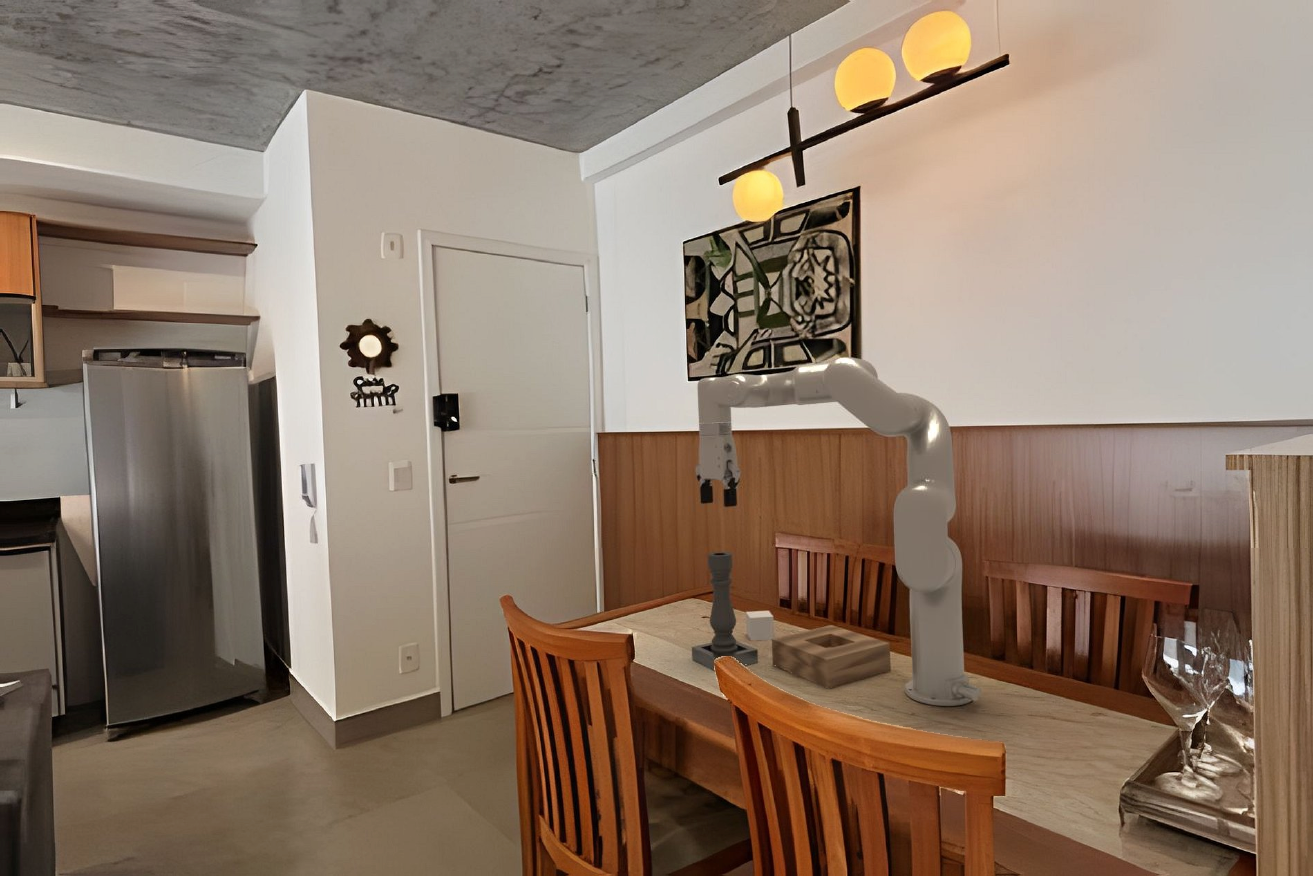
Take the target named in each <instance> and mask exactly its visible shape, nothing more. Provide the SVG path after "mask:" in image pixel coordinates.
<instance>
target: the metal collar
mask: <svg viewBox="0 0 1313 876" xmlns="http://www.w3.org/2000/svg"><path fill="white" fill-rule="evenodd" d="M712 645H713V644H712V642H709V643H708V642H707V643H703V644H699V645H695V646H691V659H693V660H692V661H694V660H696V661H697V662H696V661H695V662H696V663H698V664H700V663H701V665H702V666H704V665H705V666H704V667H706V666H707V668H708V667H710V668H709V669H711V670H712V669H713V671H714V660H715V659H716V658H718V657H721V656H718V655H716V654H714V653H712V652H711V646H712ZM735 645H737V647H738V652H734V653H730V654H726V655H722V656H732V657H734V658H736V660H738V661H739V663H742V664H743V665H745V664H747V665H745V666H744V667H746V666H750V665H754V664H757V663H756V662H758V663H759V655H758V654H759V652H758V651H759V650H758V649H757V648H755V647H752V646H750V645H747V644H745V643H742V642H740V641H737V640H736V643H735ZM753 663H754V664H753Z"/></svg>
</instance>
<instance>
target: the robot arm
mask: <svg viewBox="0 0 1313 876" xmlns="http://www.w3.org/2000/svg"><path fill="white" fill-rule="evenodd" d="M878 377H879V376H878V373H877V370H876V368H875V367H874V365H873V364H872V363H870V362H869V361H868V360H865V359H863V358H862V359H861V358H856V357H849V356H845V357H844V356H843V357H839V358H836V359H834V360H833V361H829V362H821V363H820V362H819V363H810V364H809V363H808V364H802V365H801V364H800V365H798V366H796V367H795V368H794V369H793V370H790V371H786V372H779V373H772V374H761V375H759V374H758V375H756V374H755V375H754V374H745V373H744V374H743V373H737V374H731V375H728V376H722V377H717V376H716V377H704V378H701V379H700V380H699V381H698V382H697V388H696V389H697V409H698V410H697V411H698V431H699V432H698V434H699V444H698V446H699V447H698V465H696V466H695V467H694V468H695V469H694V471H695V474H696V478H697V480H698V481H697V482H698V486H699V488H700V489H699V492H700V493H699V495H700V504H704V505H705V504H712V503H713V502H714V488H713V485H712V483H713V481H721V482H722V484H723V486H724V488H723V490H722V491H723V492H722V493H723V506H724V507H726V508H731V507H736V506H738V499H737V489H738V488H739V485H738V484H739V483H740V477H741V473H742V470H741V469H740V467H738V455H737V447H736V443H735V439H734V436H733V430H732V429H733V428H732V427H733V426H732V408H734V409H735V408H736V409H737V408H738V409H740V408H743V409H747V408H750V409H751V408H753V409H755V408H756V409H757V408H767V407H778V406H779V407H781V406H789V405H791V406H792V405H797V406H805V405H816V404H817V405H818V404H827V403H838V404H839V405H840V406H841V407H842V408H844V409H845V410H846V411H847V412H849V413H850V414H851V415H853V417H855V418H856V419H858V420H859V421H860V422H861V423H863V425H865V426H866V427H867V428H869V429H870V430H872V431H873V432H875V433H876V434H877V435H881V436H884V437H887V438H895V437H900V436H903V437H905V439H906V442H907V443H906V444H907V450H906V451H907V452H906V466H907V467H906V469H907V484H906V485H907V486H906V487H904V488H903V489H902V490H901V491H899V493H898V495H897V497H896V499H895V502H894V507H893V535H894V536H893V537H894V538H893V540H894V563H895V569H896V572H897V575H898V578H899V579H900V581H901V582H902V583H903V584H904V586H906V587H907V588H908V589H909V625H910V627H909V628H910V648H911V668H912V670H911V671H912V679H911V680H909V681H907V682H906V683H905V685H904V693H905V694H906V695H907V696H908V698H910V699H912V700H914V701H916V702H920V703H922V704H927V705H932V706H940V707H957V706H961V705H962V706H963V705H966V704H968V703H970V702H973V701H974V702H976V701H977V700H978V699H979V695H980V694H981V692H982V690H981V687H979V686H976V685H973V684H971V683H970V675H969V674H965V662H964V658H965V656H964V638H963V637H964V635H963V633H964V632H963V609H962V582H963V560H962V559H963V558H962V553H961V552H960V549H959V547H958V545H957V543H956V542H955V541H954V540H952V539H951V538H950V537H949V536H948V528H949V527H948V523H949V522H950V521H951V520H952V519H953V517H954V516H955V512H956V509H957V503H956V492H955V491H956V490H955V472H954V471H955V470H954V468H955V467H954V452H953V451H954V450H953V440H952V439H953V437H952V432H951V428H950V425H949V423H948V419H947V418H946V416H945V415H944V413H943V412H942V410H941V409H939V407H938V406H936V405H935V404H934V403H932V402H931V401H929V400H927V399H926V398H923V397H921V396H918V395H916V394H913V393H908V392H896V391H895V390H894V389H892V388H891V387H890V386H888V385H887V384H886V383H884V382H883V381H882V380H881V379H879V378H878Z"/></svg>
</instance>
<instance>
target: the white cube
mask: <svg viewBox="0 0 1313 876" xmlns="http://www.w3.org/2000/svg"><path fill="white" fill-rule="evenodd" d="M745 619H746V622H745V623H746V624H745V625H746V635H747V637H748V639H749V638H750V639H749V640H750V642H758V641H757V640H762V641H770V640H769V639H774V638H775V627H774V626H775V625H774V624H775V623H774V622H775V621H774V615H773V614H772V613H771V612H770V610H757V611H745ZM755 640H756V641H755Z"/></svg>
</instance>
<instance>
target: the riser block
mask: <svg viewBox="0 0 1313 876" xmlns="http://www.w3.org/2000/svg"><path fill="white" fill-rule="evenodd" d="M771 651H772V652H771V653H772V666H773V665H776V666H777V667H776V666H775V667H776V668H778V667H780V668H782V669H781V670H783V669H785V670H787V671H788V673H790V672H792V673H793V674H792V673H791V674H792V675H795V674H796V675H795V676H797V677H799V676H800V678H802V679H804V678H805V679H804V680H806V679H807V681H809V680H810V681H809V682H811V683H814V684H816V685H818V686H820V685H822V686H821V687H823V686H824V687H823V688H825V687H827V688H829V689H832V688H831V687H833V688H835V687H838V686H837V685H839V686H842V685H845V684H846V685H847V684H850V683H853V682H856V681H855V680H857V681H860V680H863V679H862V678H864V679H867V678H870V677H869V676H871V677H874V676H877V675H880V674H884V673H887V672H891V670H892V669H891V668H892V666H891V664H892V663H891V643H890V642H889V641H888V642H887V641H884V640H881V639H879V638H878V639H877V638H875V637H872V636H868V635H865V634H862V633H858V632H856V631H852V630H850V629H849V630H848V629H845V628H842V627H839V626H837V625H836V626H835V625H831V624H830V625H829V624H828V625H826V626H822V627H821V626H820V627H817V628H813V629H808V630H805V631H800V632H795V633H792V634H786V635H783V636H779V637H774V639H772V640H771ZM780 668H779V669H780ZM785 670H784V671H785ZM787 671H786V672H787ZM883 672H884V673H883ZM876 674H877V675H876ZM873 675H874V676H873ZM859 679H860V680H859ZM852 681H853V682H852ZM827 688H826V689H827Z"/></svg>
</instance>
